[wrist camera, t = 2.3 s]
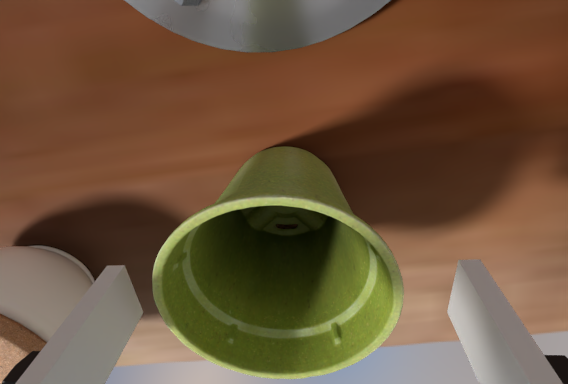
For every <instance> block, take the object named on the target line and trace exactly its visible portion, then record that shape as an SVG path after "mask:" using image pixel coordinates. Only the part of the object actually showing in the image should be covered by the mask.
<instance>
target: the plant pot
mask: <svg viewBox="0 0 568 384" xmlns="http://www.w3.org/2000/svg"><path fill="white" fill-rule="evenodd" d="M277 224H285V225H288V224H290V225H291V224H292V225H293V224H297V225H298V226H297V227H296V228H292V229H279V228H277V227H276V225H277ZM152 290H153V296H154V301H155V304H156V306H157V308H158V310H159V313H160V315H161V317H162V319H163V320H164V322H165V324H166V325H167V326H168V328H169V329H170V330H171V332H173V333H174V334H175V335H176V337H177V338H178V339H179V340H180V341H181V342H182V343H183V344H184V345H186V346H187V347H188V348H189V349H191V350H192V351H194V352H195V353H196V354H198V355H200V356H201V357H203V358H205V359H207V360H208V361H210V362H212V363H214V364H216V365H219V366H221V367H224V368H227V369H230V370H234V371H237V372H240V373H243V374H247V375H251V376H257V377H263V378H274V379H279V378H285V379H297V378H306V377H310V376H318V375H325V374H328V373H332V372H335V371H338V370H340V369H343V368H345V367H347V366H350V365H353V364H354V363H356V362H358V361H360V360H362V359H363V358H365V357H366V356H368V355H369V354H370V353H372V352H373V351H374V350H376V349H377V348H378V347H379V346H380V345H381V344H382V343H383V342H384V341H385V340H386V339H387V338H388V336H389V335H390V333H391V332H392V331H393V329H394V328H395V326H396V324H397V322H398V320H399V317H400V314H401V310H402V306H403V297H404V287H403V281H402V276H401V273H400V270H399V267H398V264H397V262H396V260H395V258H394V256H393V254H392V252H391V250H390V249H389V247H388V246H387V244H386V243H385V242H384V240H383V239H382V238H381V237H380V235H379V234H378V233H377V232H376V231H375V230H374V229H373V228H372V227H371V226H369V225H368V224H367V223H366V222H364V221H363V220H362V219H360V218H359V217H357V216H356V215H354V214H353V212H352V210H351V208H350V207H349V205H348V203H347V201H346V199H345V197H344V195H343V193H342V191H341V189H340V187H339V185H338V183H337V181H336V179H335V177H334V176H333V174H332V172H331V170H330V169H329V168H328V166H327V165H326V164H325V163H324V162H322V161H321V160H320V159H319V158H317V157H316V156H315V155H313V154H312V153H310V152H308V151H306V150H303V149H300V148H295V147H285V146H283V147H274V148H269V149H266V150H263V151H261V152H259V153H257V154H255V155H254V156H253V157H251V158H250V159H249V160H248V161H247V162H246V163H245V164H244V165H243V166H242V167H241V168H240V170H239V171H238V172H237V174H236V175H235V177H234V178H233V179H232V181H231V182H230V184H229V185H228V186H227V188H226V189H225V191H224V192H223V193H222V195H221V196H220V197H219V199H218V200H217V201H216V202H215V204H213V205H210V206H208V207H206V208H204V209H202V210H200V211H199V212H197V213H195V214H194V215H192V216H191V217H189V218H188V219H187V220H185V221H184V222H183V223H182V224H181V225H179V226H178V227H177V228H176V229H175V230H174V231H173V233H172V234H171V235H170V236H169V237H168V239H167V240H166V242H165V243H164V245H163V246H162V248H161V249H160V251H159V253H158V255H157V258H156V260H155V264H154V268H153V274H152Z"/></svg>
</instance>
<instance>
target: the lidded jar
mask: <svg viewBox="0 0 568 384" xmlns="http://www.w3.org/2000/svg"><path fill="white" fill-rule="evenodd" d="M94 282H95V280H94V278H93V276H92V274H91V272H90V271H89V270H88V269H87V267H86V266H85V265H84V264H83V263H82V262H80V261H79V260H78V259H77V258H75V257H74V256H72V255H70V254H69V253H66V252H64V251H62V250H60V249H57V248H53V247H49V246H43V245H33V246H6V247H0V384H2V381H3V380H4V378H5V377H6V376H7V375H8V373H9V372H10V371H11V370H12V369H13V367H14V366H15V365H16V364H17V363H18V362H20V361H21V360H22V359H23V358H25V357H26V356H27V355H28V354H29V353H31V352H32V351H41V350H42V349H43V347H44V346H45V345H46V344H47V342H48V341H49V340H50V338H51V337H52V336H53V335H54V333H55V332H56V331H57V329H58V328H59V327H60V326H61V324H62V323H63V322H64V320H65V319H66V318H67V317H68V315H69V314H70V313H71V311H72V310H73V309H74V308H75V306H76V305H77V304H78V302H79V301H80V300H81V299H82V297H83V296H84V295H85V293H86V292H87V291H88V290H89V288H90V287H91V286H92V284H93V283H94Z"/></svg>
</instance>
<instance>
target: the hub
mask: <svg viewBox="0 0 568 384" xmlns="http://www.w3.org/2000/svg"><path fill="white" fill-rule="evenodd" d="M125 1H126V2H127V3H129V4H130V5H131V6H133V7H134V8H135V9H137V10H138V11H139V12H141V13H142V14H143V15H145V16H146V17H148V18H149V19H151V20H153V21H155V22H156V23H158V24H160V25H161V26H163V27H165V28H167V29H168V30H170V31H172V32H174V33H177V34H179V35H181V36H184V37H186V38H189V39H191V40H193V41H196V42H199V43H202V44H206V45H210V46H213V47H217V48H220V49H227V50H234V51H242V52H276V51H283V50H290V49H296V48H301V47H304V46H307V45H311V44H314V43H317V42H321V41H324V40H326V39H328V38H331V37H333V36H335V35H337V34H340V33H342V32H344V31H346V30H348V29H350V28H352V27H353V26H355V25H357V24H358V23H360V22H362V21H363V20H365V19H366V18H368V17H370V16H371V15H373V14H374V13H376V12H377V11H378V10H379V9H381V8H382V7H383V6H384V5H386V4H387V3H388V2H389V1H391V0H125Z"/></svg>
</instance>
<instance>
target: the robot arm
mask: <svg viewBox="0 0 568 384" xmlns="http://www.w3.org/2000/svg"><path fill="white" fill-rule="evenodd" d="M447 312H448V315H449V317H450V319H451V321H452V324H453V326H454V328H455V330H456V333H457V335H458V337H459V339H460V342H461V344H462V346H463V348H464V351H465V353H466V355H467V357H468V359H469V362H470V364H471V366H472V368H473V371H474V373H475V375H476V377H477V380H478V382H479V384H568V358H567V357H565V356H562V355H561V356H560V355H558V356H557V355H544V354H543V353H542V351H541V350H540V348H539V347H538V345H537V344H536V342H535V341H534V339H533V338H532V336H531V335H530V333H529V332H528V330H527V329H526V327H525V326H524V324H523V323H522V321H521V320H520V318H519V317H518V315H517V314H516V312H515V311H514V309H513V308H512V306H511V305H510V303H509V302H508V300H507V299H506V297H505V296H504V294H503V293H502V291H501V290H500V288H499V287H498V285H497V284H496V282H495V281H494V279H493V278H492V276H491V275H490V273H489V272H488V270H487V269H486V267H485V266H484V264H483V263H482V262H481V260H459V261H458V265H457V270H456V274H455V279H454V283H453V288H452V293H451V297H450V302H449V306H448V311H447ZM142 314H143V310H142V307H141V305H140V302H139V300H138V297H137V295H136V292H135V290H134V287H133V285H132V282H131V280H130V277H129V275H128V272H127V270H126V267H125V265H112V266H106V268H105V269H104V270H103V272H102V273H101V274H100V275H99V277H98V278H97V279H96V281H95V282H94V283H93V284H92V286H91V287H90V288H89V290H88V291H87V292H86V293H85V295H84V296H83V297H82V299H81V300H80V301H79V302H78V304H77V305H76V306H75V308H74V309H73V310H72V311H71V313H70V314H69V315H68V317H67V318H66V319H65V320H64V322H63V323H62V324H61V326H60V327H59V328H58V329H57V331H56V332H55V333H54V335H53V336H52V337H51V338H50V340H49V341H48V342H47V344H46V345H45V346H44V347H43V349H42V350H41V351H32V352H31V353H29V354H28V355H27V356H26V357H25V358H23V359H22V360H21V361H20V362H18V363H17V364H16V365H15V366H14V367H13V369H12V370H11V371H10V372H9V373H8V375H7V376H6V377H5V378H4V380H3V381H2V384H105V383H106V381H107V379H108V377H109V375H110V373H111V371H112V370H113V368H114V366H115V364H116V362H117V360H118V359H119V357H120V355H121V353H122V351H123V349H124V347H125V346H126V344H127V342H128V340H129V338H130V336H131V335H132V333H133V331H134V329H135V327H136V325H137V323H138V322H139V320H140V318H141V316H142Z"/></svg>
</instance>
